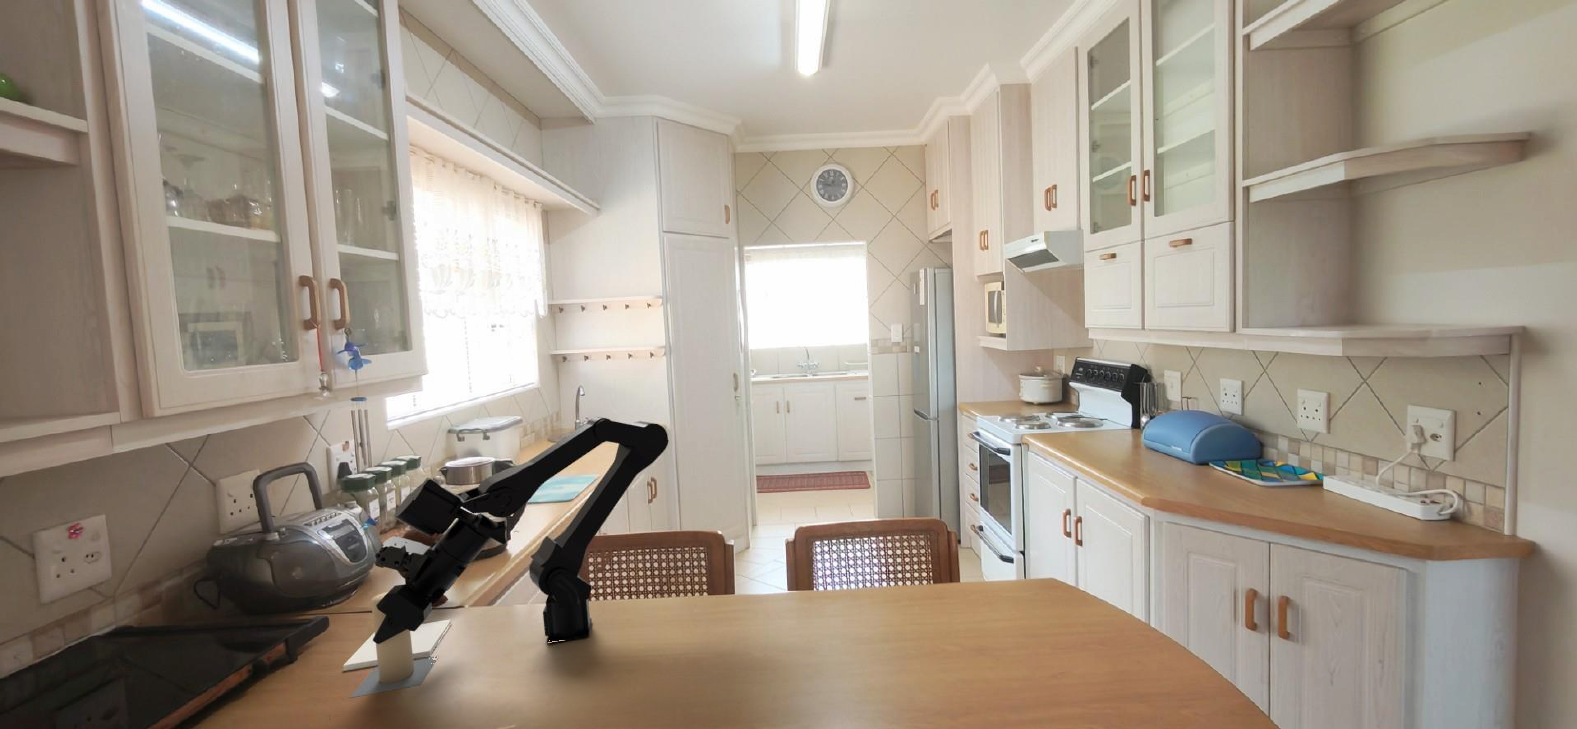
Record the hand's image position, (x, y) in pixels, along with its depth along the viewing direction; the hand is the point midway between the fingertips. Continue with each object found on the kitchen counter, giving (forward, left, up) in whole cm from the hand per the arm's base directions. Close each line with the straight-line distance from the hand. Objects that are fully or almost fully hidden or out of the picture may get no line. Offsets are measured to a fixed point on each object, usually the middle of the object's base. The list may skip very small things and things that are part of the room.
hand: (382, 635), depth 93 cm
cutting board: (+2, -11, -7) cm, 13 cm away
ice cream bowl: (+3, -30, -7) cm, 31 cm away
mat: (-1, 0, -7) cm, 7 cm away
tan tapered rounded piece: (-1, 0, -6) cm, 7 cm away
